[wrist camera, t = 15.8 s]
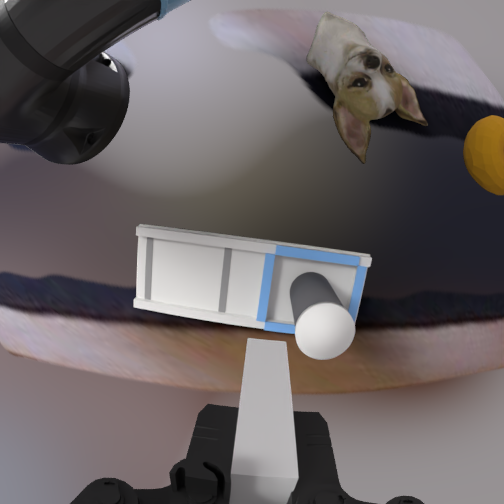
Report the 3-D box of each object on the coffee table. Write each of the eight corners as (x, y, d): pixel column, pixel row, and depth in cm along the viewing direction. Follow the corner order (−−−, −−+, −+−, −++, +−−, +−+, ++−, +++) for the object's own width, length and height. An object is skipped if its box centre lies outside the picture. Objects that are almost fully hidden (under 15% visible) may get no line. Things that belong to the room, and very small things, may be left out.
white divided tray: (140, 223, 35) (135, 225, 33) (368, 254, 34) (373, 256, 32) (138, 304, 37) (132, 309, 35) (350, 335, 36) (353, 341, 34)
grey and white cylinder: (291, 268, 34) (300, 302, 23) (334, 273, 34) (360, 307, 23) (285, 309, 35) (291, 357, 24) (327, 314, 35) (347, 361, 24)
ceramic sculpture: (371, -12, 20) (459, 116, 23) (350, 22, 28) (420, 125, 31) (280, 25, 22) (377, 166, 25) (276, 57, 30) (351, 167, 33)
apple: (505, 182, 31) (549, 184, 22) (460, 203, 32) (505, 209, 23) (484, 117, 29) (526, 105, 20) (437, 132, 30) (478, 119, 22)
